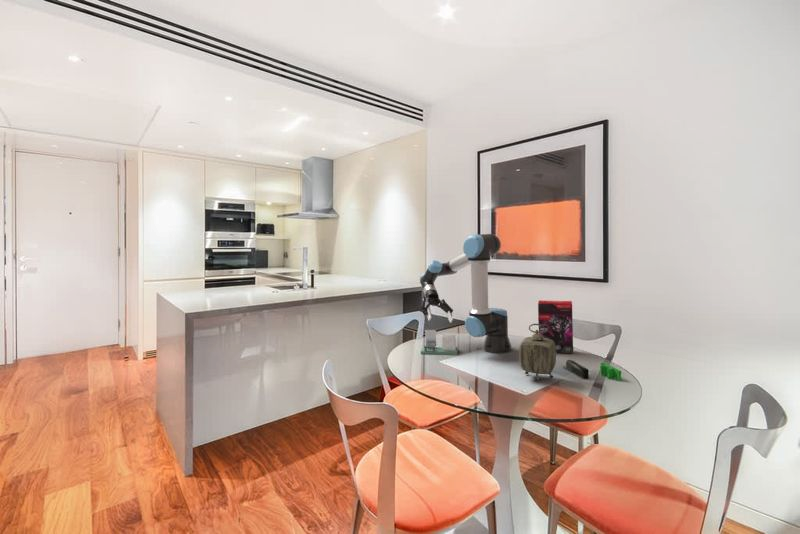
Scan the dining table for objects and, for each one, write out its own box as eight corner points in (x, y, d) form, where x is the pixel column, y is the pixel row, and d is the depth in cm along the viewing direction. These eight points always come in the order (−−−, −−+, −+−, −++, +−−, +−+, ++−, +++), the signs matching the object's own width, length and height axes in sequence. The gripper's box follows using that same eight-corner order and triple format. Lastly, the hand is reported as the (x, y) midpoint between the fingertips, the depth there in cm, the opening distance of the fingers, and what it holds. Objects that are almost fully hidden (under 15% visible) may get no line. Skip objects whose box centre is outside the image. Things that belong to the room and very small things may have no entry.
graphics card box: (538, 352, 204) (537, 302, 202) (539, 348, 211) (538, 299, 208) (573, 354, 198) (573, 303, 195) (572, 350, 204) (572, 300, 202)
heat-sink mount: (457, 349, 215) (457, 334, 214) (457, 354, 207) (456, 338, 206) (422, 349, 219) (422, 334, 218) (420, 353, 211) (420, 338, 210)
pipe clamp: (595, 372, 173) (595, 363, 172) (603, 372, 173) (603, 362, 173) (613, 382, 162) (613, 371, 161) (621, 381, 162) (621, 370, 162)
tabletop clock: (556, 377, 169) (556, 322, 166) (553, 385, 161) (552, 327, 159) (523, 373, 176) (522, 320, 174) (518, 380, 168) (517, 324, 166)
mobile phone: (590, 368, 165) (567, 357, 180) (584, 369, 165) (562, 357, 179) (589, 379, 166) (567, 367, 181) (583, 380, 165) (562, 368, 180)
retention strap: (436, 347, 217) (435, 330, 216) (435, 349, 213) (435, 331, 212) (426, 347, 218) (425, 329, 217) (425, 349, 214) (424, 331, 213)
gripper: (446, 300, 234) (457, 326, 218) (409, 295, 224) (418, 322, 209) (451, 291, 229) (462, 317, 214) (414, 286, 220) (423, 313, 204)
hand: (440, 320), depth 211 cm, fingers open, 13 cm apart
